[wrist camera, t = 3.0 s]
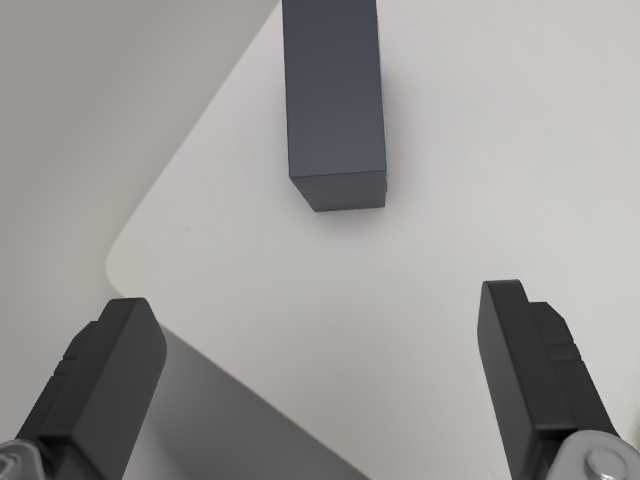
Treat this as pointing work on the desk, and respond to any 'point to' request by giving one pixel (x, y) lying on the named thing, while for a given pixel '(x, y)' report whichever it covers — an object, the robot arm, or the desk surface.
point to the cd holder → (335, 103)
